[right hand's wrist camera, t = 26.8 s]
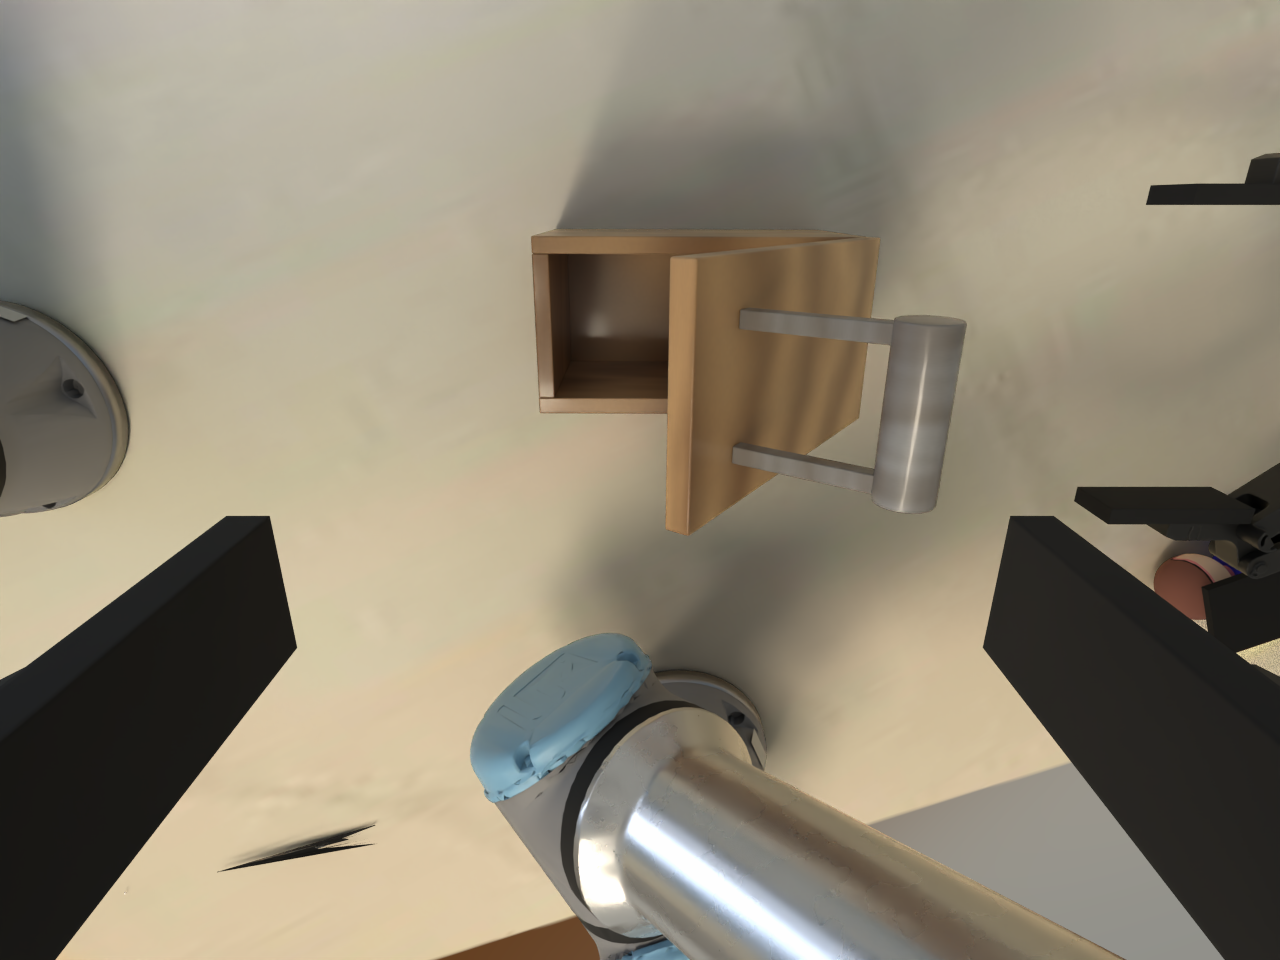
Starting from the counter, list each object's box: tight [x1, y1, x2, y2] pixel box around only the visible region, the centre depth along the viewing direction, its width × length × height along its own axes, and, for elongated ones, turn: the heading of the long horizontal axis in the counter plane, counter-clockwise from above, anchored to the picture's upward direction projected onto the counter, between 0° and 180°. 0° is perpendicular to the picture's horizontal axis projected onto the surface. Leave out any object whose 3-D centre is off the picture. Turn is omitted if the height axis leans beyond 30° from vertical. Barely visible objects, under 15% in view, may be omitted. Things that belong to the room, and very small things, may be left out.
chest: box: [531, 229, 863, 413], centre depth 44 cm, size 18×10×11 cm, turn 90°
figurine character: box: [1154, 554, 1280, 653], centre depth 53 cm, size 7×8×15 cm
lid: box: [666, 237, 967, 536], centre depth 29 cm, size 18×10×8 cm
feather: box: [124, 825, 375, 894], centre depth 67 cm, size 2×28×2 cm
